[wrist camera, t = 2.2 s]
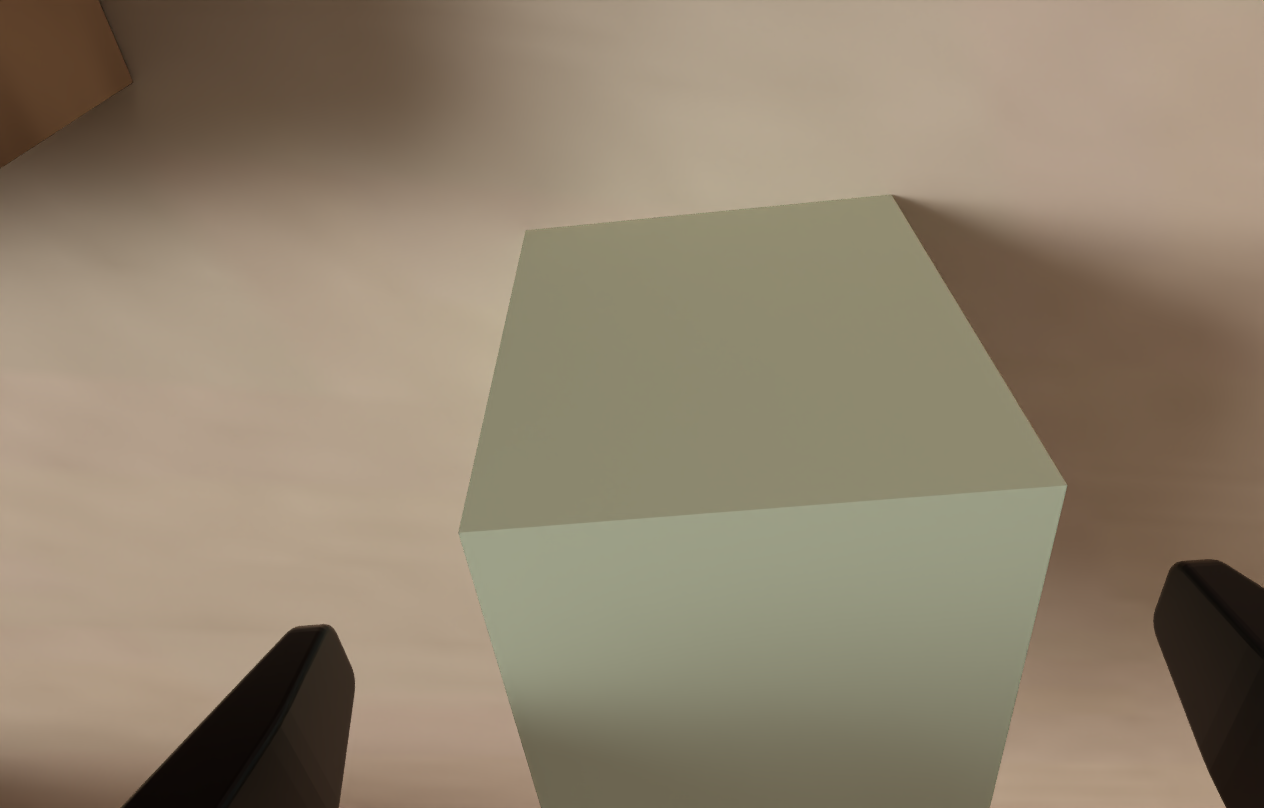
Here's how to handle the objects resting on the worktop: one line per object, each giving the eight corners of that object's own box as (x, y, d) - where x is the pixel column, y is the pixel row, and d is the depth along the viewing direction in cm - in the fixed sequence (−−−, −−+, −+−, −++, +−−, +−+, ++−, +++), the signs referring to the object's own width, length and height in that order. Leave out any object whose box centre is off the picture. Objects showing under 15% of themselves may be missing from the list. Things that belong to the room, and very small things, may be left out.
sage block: (871, 474, 15) (987, 817, 10) (576, 497, 15) (551, 841, 10) (890, 193, 12) (1066, 484, 7) (526, 228, 12) (458, 532, 7)
